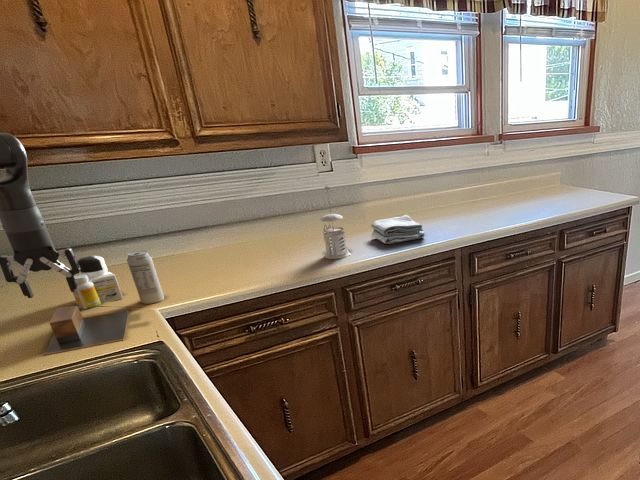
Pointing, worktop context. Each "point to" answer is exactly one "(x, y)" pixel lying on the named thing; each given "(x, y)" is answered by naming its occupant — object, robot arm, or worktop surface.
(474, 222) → the worktop surface
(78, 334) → the eraser
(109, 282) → the container
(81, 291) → the supplement bottle
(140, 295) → the energy drink can
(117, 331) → the board
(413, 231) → the towel
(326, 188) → the french press
